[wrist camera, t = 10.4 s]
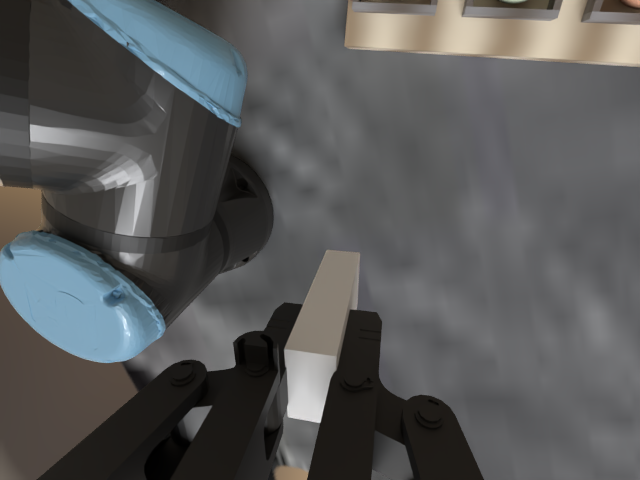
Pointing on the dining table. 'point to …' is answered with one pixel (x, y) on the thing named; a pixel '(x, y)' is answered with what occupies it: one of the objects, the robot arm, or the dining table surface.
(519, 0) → the sage button
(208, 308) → the dining table surface
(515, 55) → the button panel
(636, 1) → the terracotta button
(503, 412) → the dining table surface
